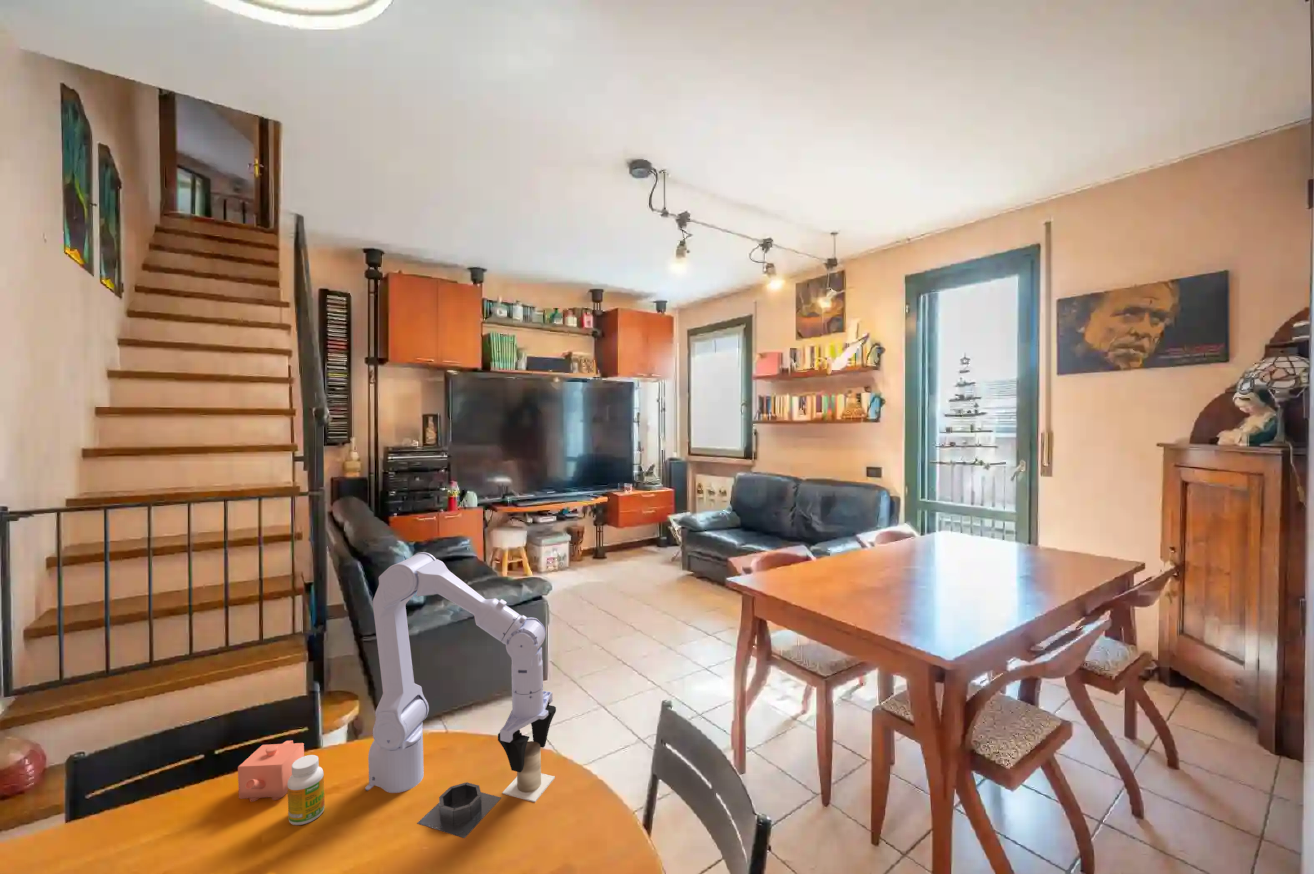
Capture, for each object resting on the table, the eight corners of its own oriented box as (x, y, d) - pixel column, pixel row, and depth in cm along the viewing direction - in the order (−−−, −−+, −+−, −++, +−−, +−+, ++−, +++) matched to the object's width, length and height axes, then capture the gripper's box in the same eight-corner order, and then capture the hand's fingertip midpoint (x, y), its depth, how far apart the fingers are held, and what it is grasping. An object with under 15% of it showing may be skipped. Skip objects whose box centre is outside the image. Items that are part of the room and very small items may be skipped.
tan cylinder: (512, 789, 100) (511, 752, 100) (525, 774, 104) (525, 739, 104) (532, 794, 99) (532, 757, 98) (545, 779, 103) (544, 743, 102)
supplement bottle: (307, 828, 92) (305, 773, 92) (280, 823, 93) (278, 769, 93) (331, 806, 98) (330, 753, 97) (306, 802, 99) (305, 750, 98)
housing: (417, 827, 92) (416, 808, 92) (457, 789, 102) (456, 772, 101) (464, 842, 89) (464, 823, 89) (501, 801, 98) (501, 784, 98)
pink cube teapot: (226, 817, 95) (224, 771, 95) (270, 772, 107) (269, 732, 107) (272, 814, 96) (270, 769, 95) (311, 770, 108) (309, 730, 107)
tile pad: (502, 797, 99) (502, 792, 99) (524, 773, 106) (523, 768, 106) (535, 806, 97) (535, 800, 97) (555, 781, 104) (555, 776, 103)
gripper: (523, 710, 93) (525, 787, 93) (565, 672, 106) (566, 739, 107) (489, 703, 95) (491, 778, 95) (534, 667, 109) (535, 733, 109)
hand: (528, 757), depth 101 cm, fingers open, 7 cm apart
